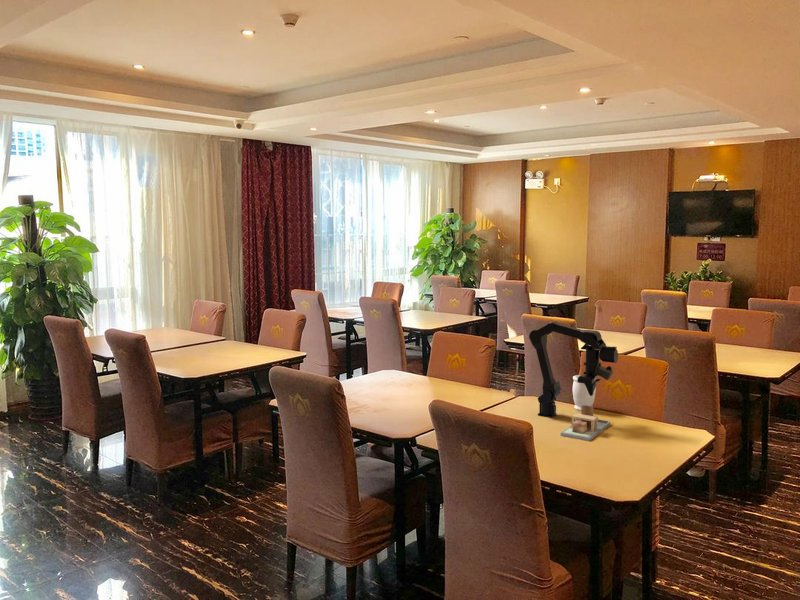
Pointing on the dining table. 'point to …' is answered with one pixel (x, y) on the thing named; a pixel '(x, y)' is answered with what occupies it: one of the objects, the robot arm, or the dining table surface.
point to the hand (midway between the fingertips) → (591, 395)
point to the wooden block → (583, 424)
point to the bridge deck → (595, 429)
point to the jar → (581, 394)
